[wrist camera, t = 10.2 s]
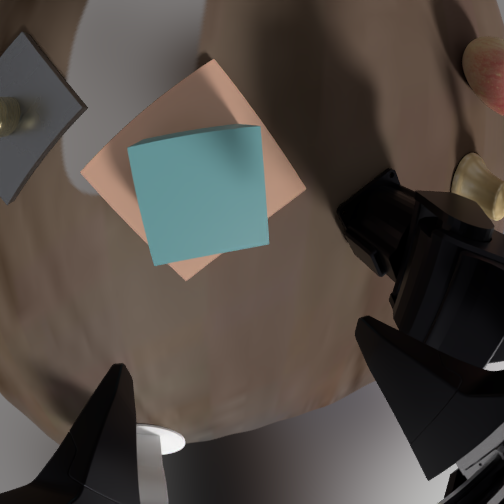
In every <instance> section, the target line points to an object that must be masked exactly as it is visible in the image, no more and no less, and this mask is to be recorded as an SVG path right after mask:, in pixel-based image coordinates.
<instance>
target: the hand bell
mask: <svg viewBox="0 0 504 504" xmlns="http://www.w3.org/2000/svg"><path fill="white" fill-rule="evenodd" d="M451 193H455V194H458V195H460V196H463V197H466V198H468V199H471V200H473V201H475V202H477V203H478V205H479V206H480V207H481V208H482V210H483V211H484V212H485V214H486V215H487V216H488V218H491V219H493V220H496V221H498V220H500V219H502V218H503V216H504V181H502V180H500V179H499V178H497V177H496V176H495V175H493V174H492V173H491V172H490V171H489V170H488V169H487V168H486V166H485V163H484V161H483V160H482V158H481V157H480V156H479V155H477V154H476V153H469V154H467V155H466V156H465V157H464V158H463V159H462V160H461V161H460V163H459V165H458V167H457V169H456V172H455V174H454V178H453V182H452V188H451Z"/></svg>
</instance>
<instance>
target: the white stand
mask: <svg viewBox="0 0 504 504" xmlns="http://www.w3.org/2000/svg"><path fill="white" fill-rule="evenodd" d="M136 441H137V468H138V483H139V495H140V504H169V502H168V493H167V486H166V479H165V474H164V469H163V463H162V455H163V454H169V453H174V452H176V451H179V450H180V449H182V448H183V447H184V445H185V439H184V437H183V436H182V435H181V434H180V433H178V432H176V431H174V430H171V429H169V428H165V427H161V426H156V425H149V424H136Z"/></svg>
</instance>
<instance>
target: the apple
mask: <svg viewBox="0 0 504 504" xmlns="http://www.w3.org/2000/svg"><path fill="white" fill-rule="evenodd" d="M462 66H463V70H464V74H465V76H466V79H467V81H468V83H469V85H470V87H471V88H472V90H473V91H474V93H475V94H476V95H477V96H478V97H479V98H480V99H481V101H482V102H483V103H484V104H486V105H487V106H488V107H489V108H491V109H492V110H493V111H495V112H497V113H498V114H500V115H503V116H504V40H503V39H501V38H497V37H479V38H476V39H474V40H473V41H471V42H470V43H469V44H468V45H467V47H466V49H465V51H464V54H463V58H462Z"/></svg>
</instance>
